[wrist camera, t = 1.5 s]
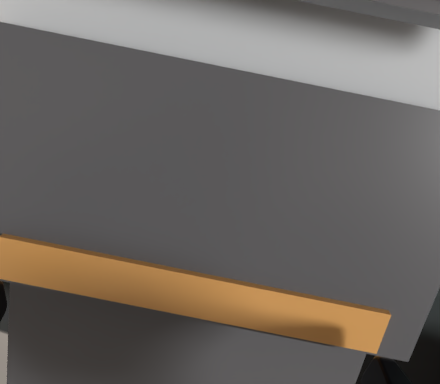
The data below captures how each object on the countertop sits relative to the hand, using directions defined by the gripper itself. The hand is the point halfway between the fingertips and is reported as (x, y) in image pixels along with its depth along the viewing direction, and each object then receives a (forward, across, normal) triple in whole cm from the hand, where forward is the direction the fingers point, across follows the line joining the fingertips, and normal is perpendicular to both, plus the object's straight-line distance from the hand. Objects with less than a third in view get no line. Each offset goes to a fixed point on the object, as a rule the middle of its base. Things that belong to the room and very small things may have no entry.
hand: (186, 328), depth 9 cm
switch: (+3, 0, +6) cm, 6 cm away
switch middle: (+3, 0, -2) cm, 3 cm away
